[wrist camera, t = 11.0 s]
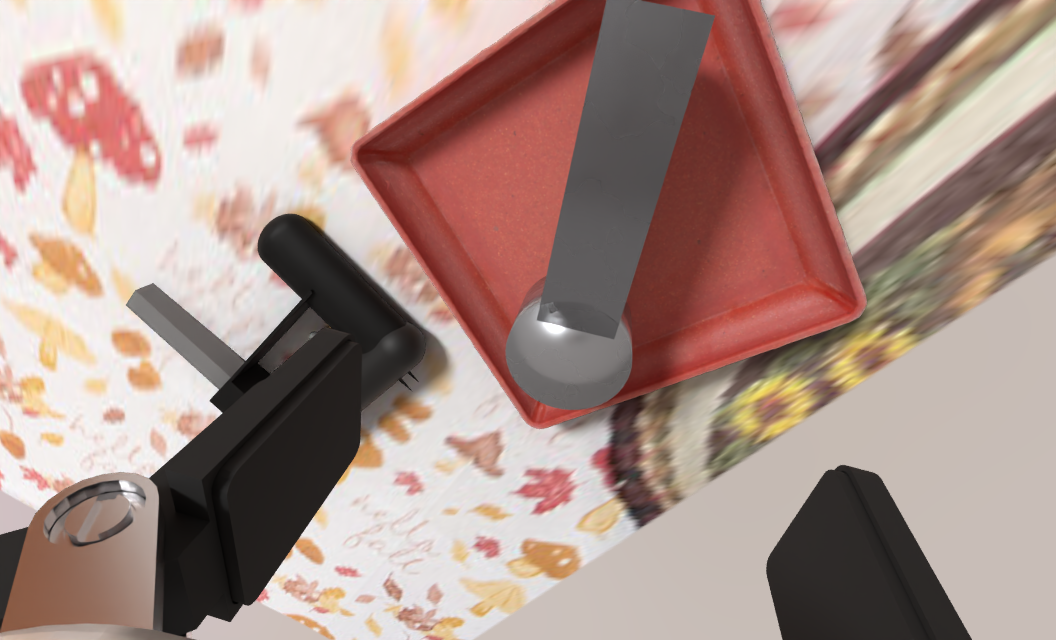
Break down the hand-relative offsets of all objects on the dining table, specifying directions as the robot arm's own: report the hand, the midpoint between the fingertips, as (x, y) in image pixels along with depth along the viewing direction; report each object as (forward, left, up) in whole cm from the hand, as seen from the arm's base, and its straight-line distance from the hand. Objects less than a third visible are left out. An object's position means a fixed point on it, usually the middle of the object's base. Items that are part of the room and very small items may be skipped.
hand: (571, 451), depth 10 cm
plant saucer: (0, 0, -18) cm, 18 cm away
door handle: (+23, -4, -18) cm, 30 cm away
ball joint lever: (0, 0, -15) cm, 15 cm away
